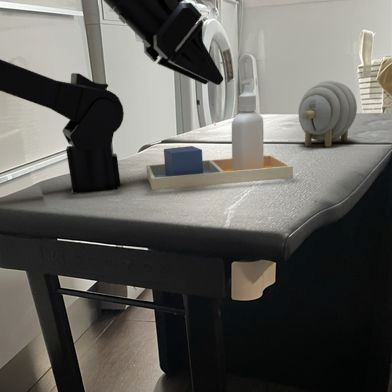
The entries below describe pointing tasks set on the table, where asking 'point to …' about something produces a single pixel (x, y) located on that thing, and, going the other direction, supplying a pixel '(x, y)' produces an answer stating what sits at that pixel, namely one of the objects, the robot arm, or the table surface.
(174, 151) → the slate block
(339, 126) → the toy sheep
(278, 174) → the sorting tray
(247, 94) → the eye dropper bottle
